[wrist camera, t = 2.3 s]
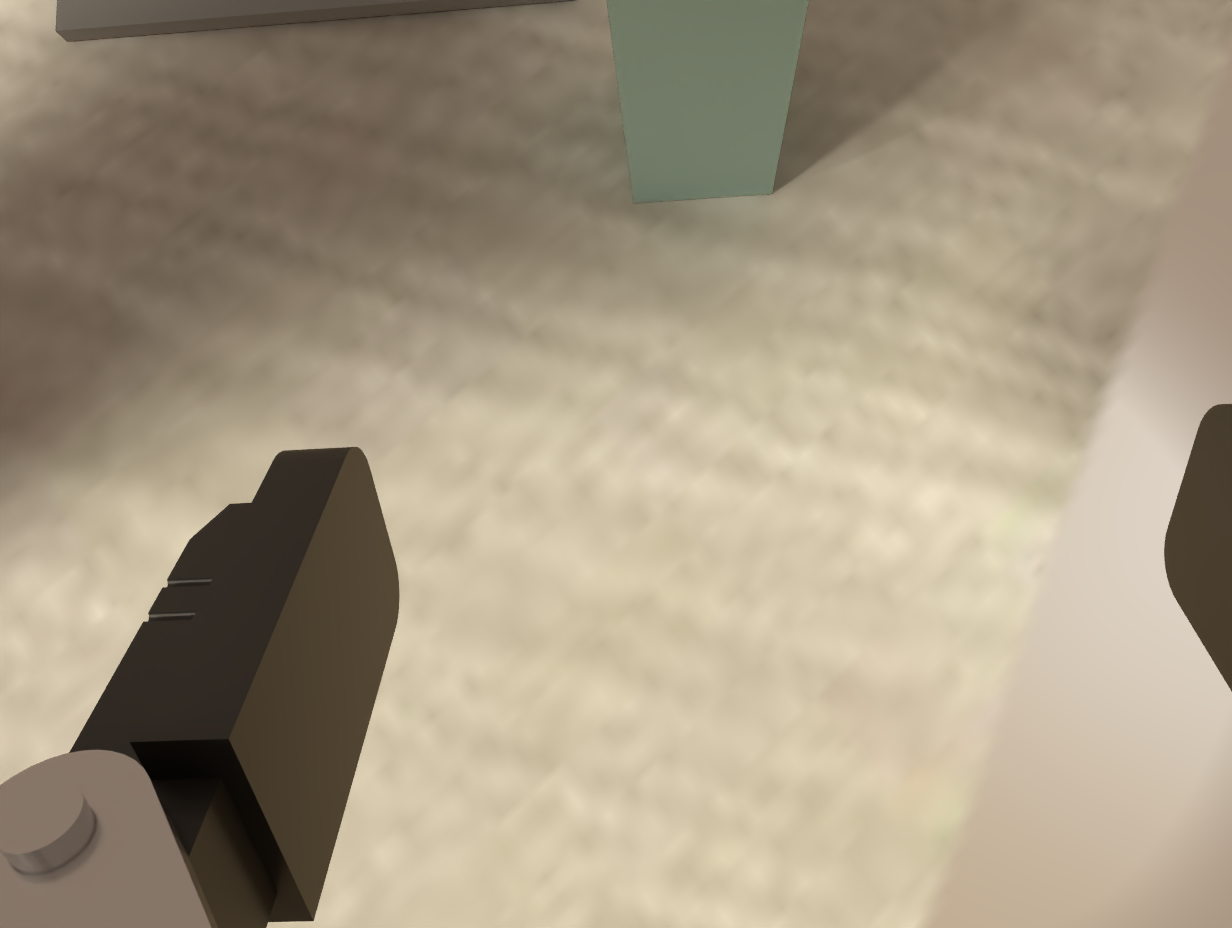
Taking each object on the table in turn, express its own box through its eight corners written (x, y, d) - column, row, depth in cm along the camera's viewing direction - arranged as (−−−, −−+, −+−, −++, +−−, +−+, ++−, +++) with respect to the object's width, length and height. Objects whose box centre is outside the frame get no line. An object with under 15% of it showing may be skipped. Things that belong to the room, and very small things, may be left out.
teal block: (633, 203, 26) (604, -19, 17) (627, 75, 26) (596, -204, 17) (772, 194, 26) (815, -37, 17) (763, 65, 26) (801, -223, 17)
